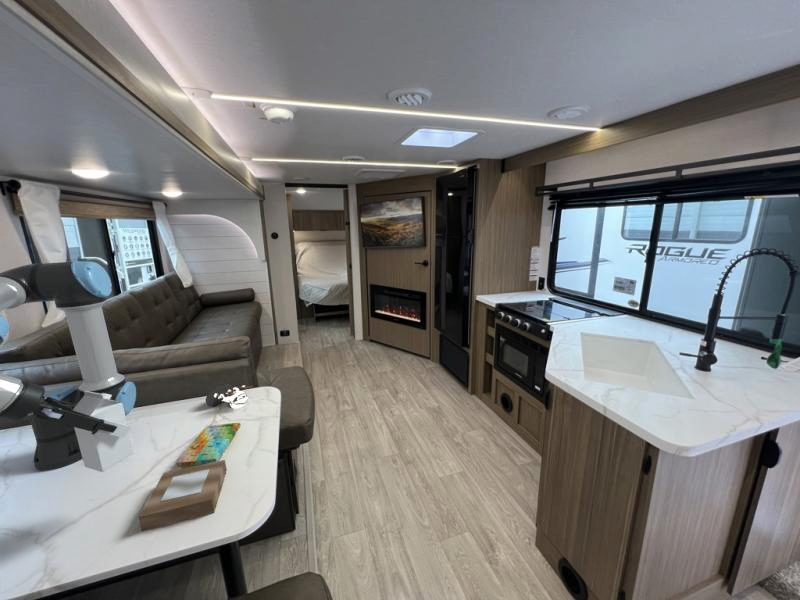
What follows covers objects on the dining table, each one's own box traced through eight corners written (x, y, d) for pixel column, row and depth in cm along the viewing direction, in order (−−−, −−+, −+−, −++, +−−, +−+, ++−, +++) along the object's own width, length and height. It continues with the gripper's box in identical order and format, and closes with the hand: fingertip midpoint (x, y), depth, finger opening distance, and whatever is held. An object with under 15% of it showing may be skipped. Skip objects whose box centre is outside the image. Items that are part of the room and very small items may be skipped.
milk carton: (102, 473, 79) (84, 401, 75) (84, 467, 81) (65, 397, 77) (134, 454, 85) (119, 387, 81) (116, 449, 88) (101, 384, 84)
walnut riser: (166, 484, 94) (163, 471, 94) (226, 471, 99) (224, 458, 98) (141, 530, 79) (137, 516, 78) (214, 512, 84) (211, 498, 83)
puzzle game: (174, 460, 98) (206, 423, 118) (177, 473, 99) (208, 435, 119) (215, 456, 99) (239, 420, 119) (217, 469, 100) (241, 431, 120)
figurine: (230, 380, 148) (255, 380, 140) (234, 400, 149) (259, 402, 140) (199, 392, 136) (225, 392, 128) (204, 413, 137) (229, 416, 128)
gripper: (-17, 402, 72) (94, 429, 88) (3, 430, 61) (126, 455, 77) (12, 371, 75) (114, 403, 91) (37, 392, 64) (147, 423, 80)
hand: (119, 426), depth 84 cm, fingers closed on milk carton, 8 cm apart
